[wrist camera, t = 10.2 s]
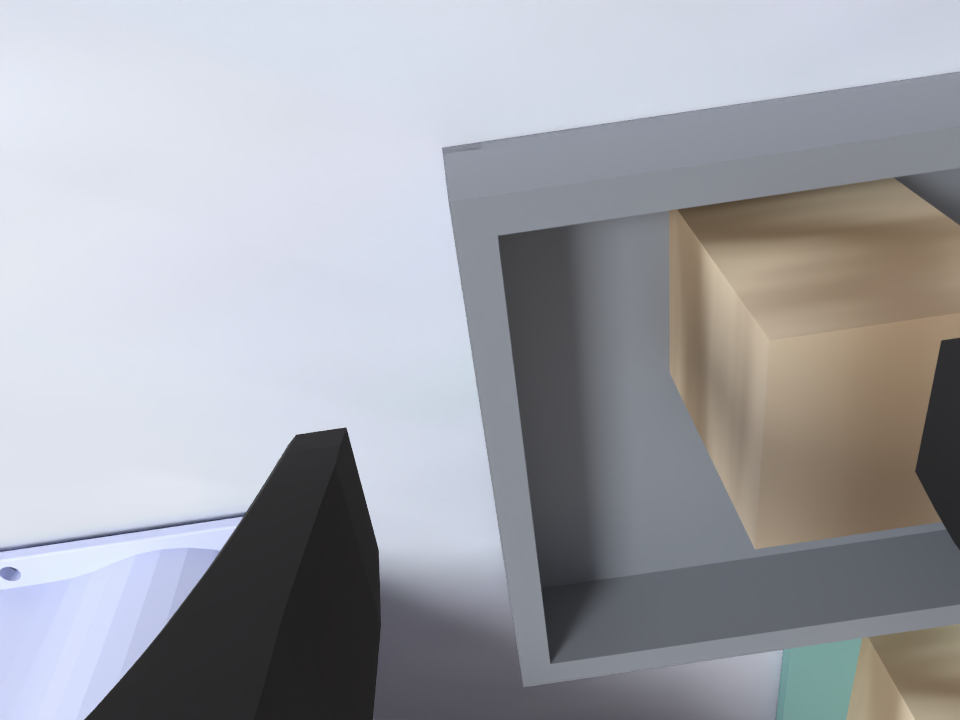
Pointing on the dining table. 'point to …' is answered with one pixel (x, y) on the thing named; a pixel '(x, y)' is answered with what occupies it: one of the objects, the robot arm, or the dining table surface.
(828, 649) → the teal mat
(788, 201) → the plain block
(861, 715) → the labelled block
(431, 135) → the dining table surface
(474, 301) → the parts bin
